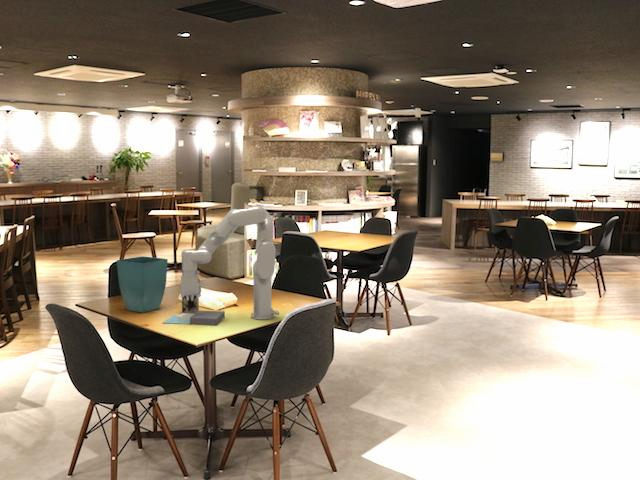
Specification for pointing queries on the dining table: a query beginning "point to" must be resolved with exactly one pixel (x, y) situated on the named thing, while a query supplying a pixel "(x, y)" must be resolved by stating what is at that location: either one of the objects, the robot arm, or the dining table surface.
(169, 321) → the mat
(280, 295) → the dining table surface
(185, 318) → the tile
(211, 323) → the board
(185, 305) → the coffee box
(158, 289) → the flower pot
